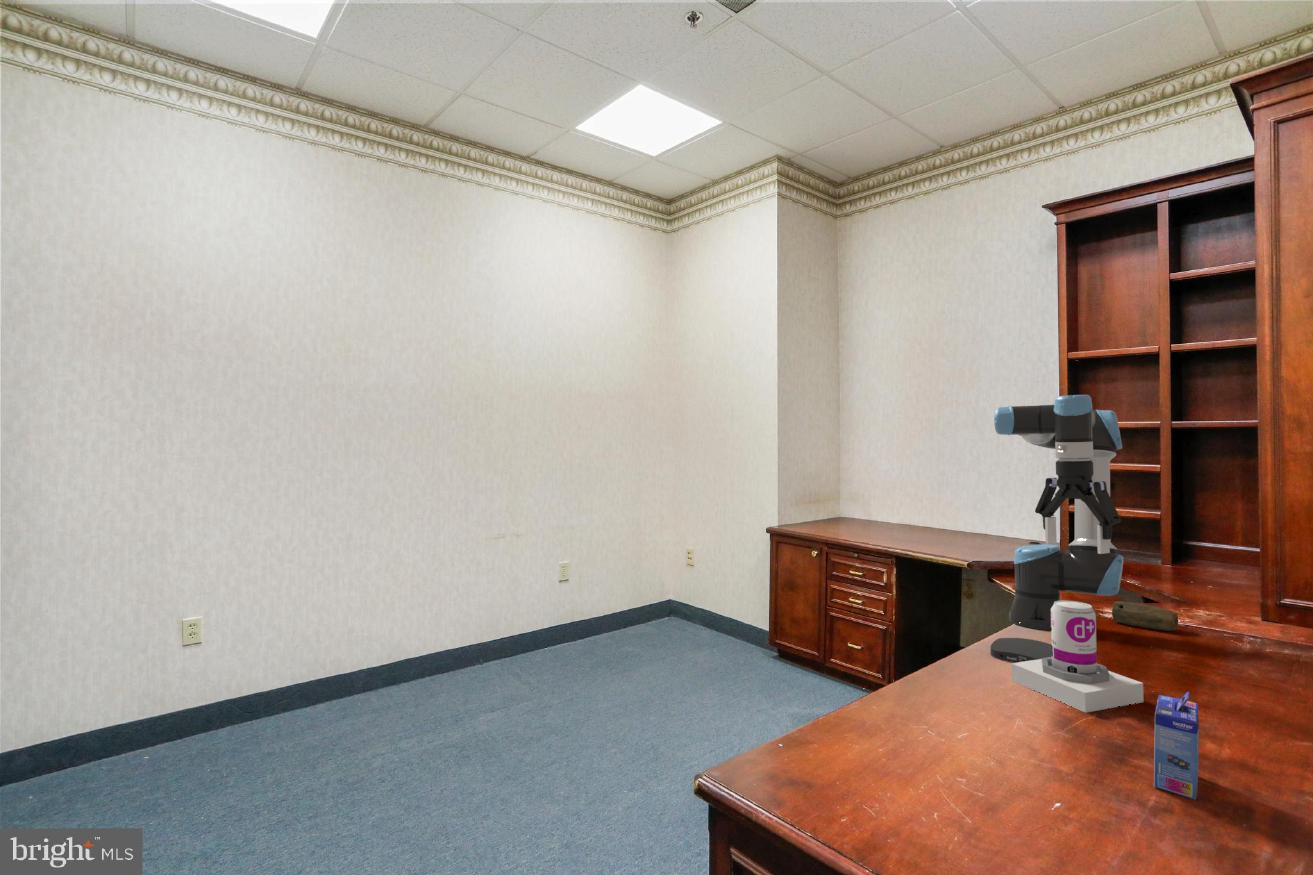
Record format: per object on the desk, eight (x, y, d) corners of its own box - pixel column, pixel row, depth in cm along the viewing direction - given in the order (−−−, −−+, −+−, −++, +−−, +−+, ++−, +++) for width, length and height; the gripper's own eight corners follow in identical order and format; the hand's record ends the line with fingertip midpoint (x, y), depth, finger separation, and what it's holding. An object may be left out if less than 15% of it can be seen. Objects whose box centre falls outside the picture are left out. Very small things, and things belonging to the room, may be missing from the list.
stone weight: (1111, 625, 186) (1110, 602, 186) (1115, 620, 191) (1114, 598, 191) (1176, 635, 176) (1176, 611, 176) (1179, 629, 181) (1178, 606, 181)
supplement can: (1104, 680, 134) (1102, 610, 134) (1061, 678, 135) (1059, 608, 135) (1086, 667, 142) (1085, 600, 142) (1046, 665, 143) (1044, 599, 143)
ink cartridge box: (1199, 802, 96) (1197, 706, 96) (1153, 789, 100) (1151, 697, 100) (1200, 775, 104) (1198, 687, 104) (1157, 764, 107) (1155, 679, 107)
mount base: (1011, 680, 145) (1011, 656, 145) (1065, 672, 149) (1065, 649, 149) (1085, 712, 127) (1084, 685, 128) (1143, 702, 132) (1142, 675, 132)
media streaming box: (1065, 656, 161) (1065, 644, 161) (1052, 671, 151) (1052, 659, 151) (1002, 644, 171) (1002, 633, 171) (986, 658, 161) (986, 646, 161)
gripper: (1018, 458, 161) (1020, 540, 162) (1113, 462, 138) (1115, 559, 138) (1040, 456, 164) (1042, 538, 164) (1138, 461, 140) (1141, 556, 140)
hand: (1076, 548), depth 151 cm, fingers open, 13 cm apart
